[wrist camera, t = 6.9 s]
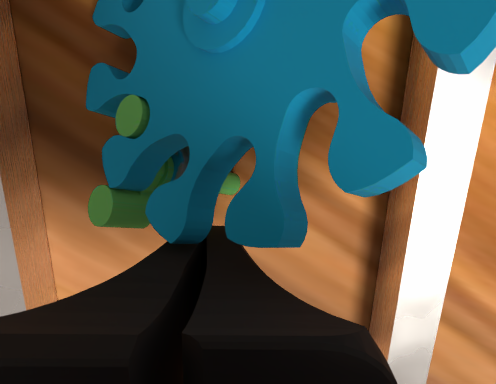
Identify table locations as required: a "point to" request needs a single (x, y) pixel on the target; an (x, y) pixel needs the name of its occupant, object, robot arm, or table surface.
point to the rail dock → (396, 224)
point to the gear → (256, 107)
